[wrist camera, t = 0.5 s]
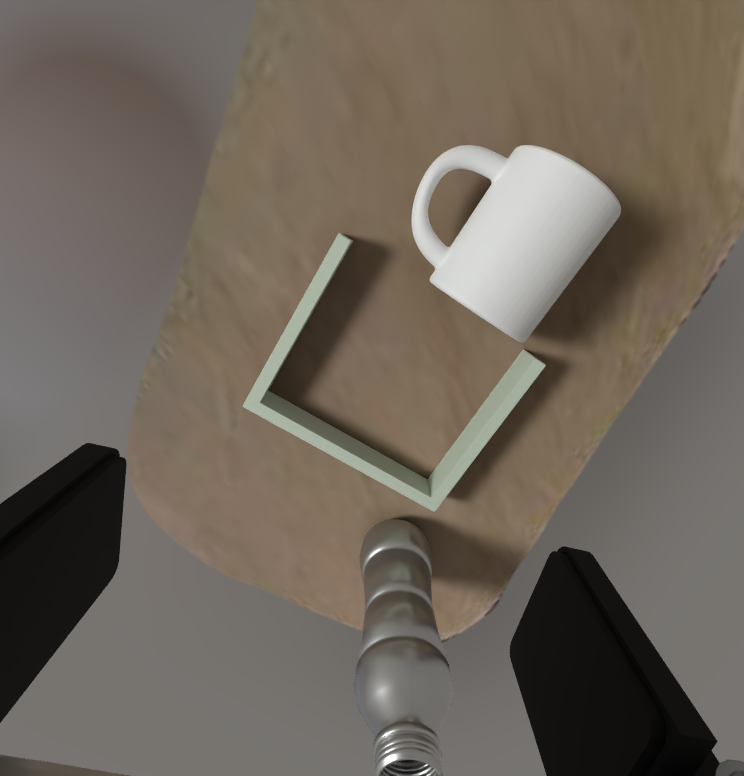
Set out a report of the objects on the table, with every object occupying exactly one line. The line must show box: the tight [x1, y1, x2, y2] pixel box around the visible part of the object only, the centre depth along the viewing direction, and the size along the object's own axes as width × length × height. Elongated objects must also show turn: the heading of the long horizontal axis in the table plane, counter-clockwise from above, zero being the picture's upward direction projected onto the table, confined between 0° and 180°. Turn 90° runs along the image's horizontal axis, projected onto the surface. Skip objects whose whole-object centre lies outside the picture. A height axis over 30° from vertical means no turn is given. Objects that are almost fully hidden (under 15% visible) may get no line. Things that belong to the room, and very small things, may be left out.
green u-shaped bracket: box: [242, 233, 546, 512], centre depth 36 cm, size 15×18×3 cm
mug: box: [412, 145, 621, 343], centre depth 31 cm, size 12×10×8 cm
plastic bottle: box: [354, 519, 453, 776], centre depth 33 cm, size 6×7×20 cm
